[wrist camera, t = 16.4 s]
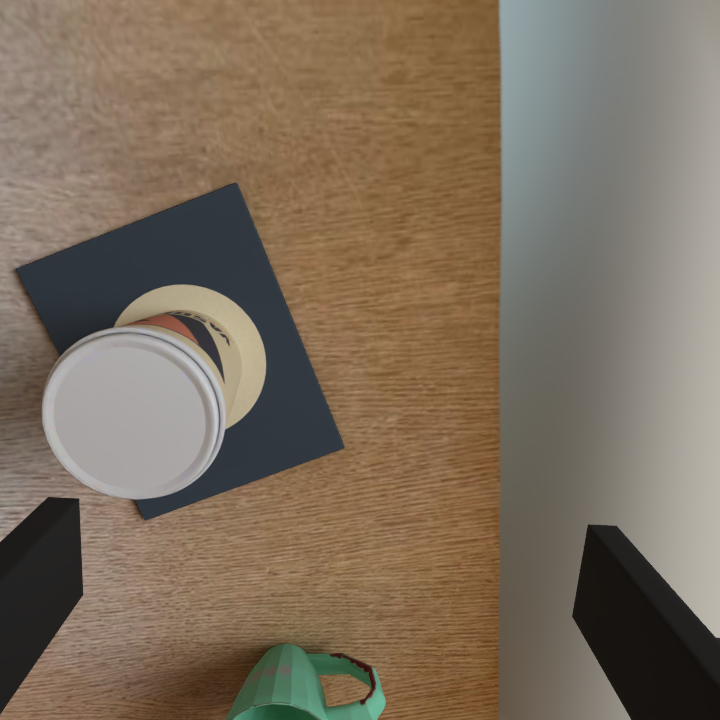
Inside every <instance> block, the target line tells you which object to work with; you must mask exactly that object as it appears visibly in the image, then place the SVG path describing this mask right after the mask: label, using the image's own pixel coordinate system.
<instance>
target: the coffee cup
mask: <svg viewBox="0 0 720 720" xmlns="http://www.w3.org/2000/svg"><path fill="white" fill-rule="evenodd" d="M241 373H242V358H241V353H240V350H239V347H238V345H237V342H236V341H235V339H234V337H233V336H232V334H231V333H230V332H229V330H228V329H227V328H226V327H225V326H224V325H222V324H221V323H220V322H219V321H217V320H216V319H214V318H212V317H211V316H208V315H206V314H203V313H200V312H197V311H192V310H175V311H169V312H165V313H161V314H157V315H154V316H151V317H148V318H144V319H141V320H138V321H135V322H132V323H129V324H126V325H123V326H119V327H115V328H109V329H105V330H101V331H98V332H95V333H93V334H90V335H88V336H86V337H84V338H82V339H81V340H79V341H78V342H76V343H75V344H73V345H72V346H71V347H70V348H69V349H67V350H66V351H65V352H64V353H63V354H62V355H61V357H60V358H59V359H58V360H57V362H56V363H55V364H54V366H53V368H52V369H51V371H50V373H49V375H48V378H47V380H46V383H45V387H44V391H43V397H42V425H43V429H44V433H45V436H46V439H47V442H48V444H49V446H50V448H51V450H52V452H53V453H54V455H55V457H56V458H57V460H58V461H59V462H60V464H61V465H62V466H63V467H64V468H65V469H66V470H67V471H68V472H69V473H70V474H71V475H72V476H73V477H74V478H76V479H77V480H78V481H80V482H81V483H83V484H84V485H86V486H88V487H89V488H91V489H93V490H95V491H98V492H100V493H103V494H106V495H109V496H113V497H116V498H123V499H135V500H137V499H149V498H156V497H161V496H165V495H169V494H172V493H174V492H177V491H179V490H181V489H183V488H185V487H186V486H188V485H190V484H191V483H193V482H194V481H195V480H196V479H198V478H199V477H200V476H201V475H202V474H203V473H204V472H205V471H206V470H207V469H208V467H209V466H210V465H211V464H212V462H213V460H214V459H215V457H216V456H217V453H218V451H219V449H220V447H221V444H222V441H223V437H224V432H225V427H226V423H227V420H228V417H229V414H230V412H231V409H232V405H233V402H234V399H235V396H236V393H237V390H238V387H239V383H240V379H241Z"/></svg>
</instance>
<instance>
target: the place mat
mask: <svg viewBox="0 0 720 720" xmlns="http://www.w3.org/2000/svg"><path fill="white" fill-rule="evenodd" d="M16 271H17V273H18V275H19V277H20V279H21V281H22V283H23V285H24V287H25V288H26V290H27V292H28V294H29V296H30V298H31V300H32V302H33V304H34V306H35V308H36V310H37V312H38V314H39V316H40V318H41V320H42V322H43V323H44V325H45V327H46V329H47V331H48V333H49V335H50V337H51V339H52V341H53V343H54V345H55V347H56V349H57V351H58V353H59V355H60V356H61V355H62V354H63V353H64V352H65V351H66V350H67V349H69V348H70V347H71V346H72V345H73V344H75V343H76V342H78V341H79V340H81V339H82V338H84V337H86V336H88V335H90V334H93V333H95V332H98V331H101V330H105V329H109V328H115V327H119V326H123V325H126V324H129V323H132V322H135V321H138V320H141V319H144V318H148V317H151V316H154V315H157V314H161V313H165V312H169V311H175V310H192V311H197V312H200V313H203V314H206V315H208V316H211V317H212V318H214V319H216V320H217V321H219V322H220V323H221V324H222V325H224V326H225V327H226V328H227V329H228V330H229V332H230V333H231V334H232V336H233V337H234V339H235V341H236V342H237V345H238V347H239V350H240V353H241V358H242V373H241V379H240V383H239V387H238V390H237V393H236V396H235V399H234V402H233V405H232V409H231V412H230V414H229V417H228V420H227V423H226V427H225V432H224V437H223V441H222V444H221V447H220V449H219V451H218V453H217V456H216V457H215V459H214V460H213V462H212V464H211V465H210V466H209V467H208V469H207V470H206V471H205V472H204V473H203V474H202V475H201V476H200V477H199V478H198V479H196V480H195V481H194V482H193V483H191V484H190V485H188V486H186V487H185V488H183V489H181V490H179V491H177V492H174V493H172V494H169V495H165V496H161V497H156V498H149V499H137V500H135V499H134V500H135V502H136V504H137V506H138V508H139V510H140V512H141V514H142V516H143V518H144V520H148V519H151V518H154V517H157V516H159V515H162V514H165V513H167V512H170V511H173V510H176V509H178V508H181V507H184V506H187V505H189V504H192V503H195V502H198V501H200V500H203V499H206V498H209V497H211V496H214V495H217V494H220V493H222V492H225V491H228V490H231V489H233V488H236V487H239V486H242V485H244V484H247V483H250V482H253V481H255V480H258V479H261V478H264V477H266V476H269V475H272V474H275V473H277V472H280V471H283V470H286V469H288V468H291V467H294V466H297V465H299V464H302V463H305V462H308V461H310V460H313V459H316V458H319V457H321V456H324V455H327V454H330V453H332V452H335V451H338V450H341V449H343V448H344V444H343V441H342V439H341V437H340V434H339V432H338V429H337V427H336V424H335V422H334V419H333V417H332V414H331V412H330V410H329V407H328V405H327V402H326V400H325V397H324V395H323V392H322V390H321V387H320V385H319V383H318V380H317V378H316V375H315V373H314V370H313V368H312V365H311V363H310V360H309V358H308V356H307V353H306V351H305V348H304V346H303V343H302V341H301V338H300V336H299V334H298V331H297V329H296V326H295V324H294V321H293V319H292V316H291V314H290V311H289V309H288V307H287V304H286V302H285V299H284V297H283V294H282V292H281V289H280V287H279V284H278V282H277V280H276V277H275V275H274V272H273V270H272V267H271V265H270V262H269V260H268V257H267V255H266V253H265V250H264V248H263V245H262V243H261V240H260V238H259V235H258V233H257V230H256V228H255V226H254V223H253V221H252V218H251V216H250V213H249V211H248V208H247V206H246V203H245V201H244V199H243V196H242V194H241V191H240V189H239V186H238V184H237V183H234V184H231V185H229V186H226V187H223V188H221V189H218V190H216V191H213V192H211V193H208V194H206V195H203V196H201V197H198V198H195V199H193V200H190V201H188V202H185V203H183V204H180V205H178V206H175V207H172V208H170V209H167V210H165V211H162V212H160V213H157V214H155V215H152V216H150V217H147V218H144V219H142V220H139V221H137V222H134V223H132V224H129V225H127V226H124V227H122V228H119V229H116V230H114V231H111V232H109V233H106V234H104V235H101V236H99V237H96V238H93V239H91V240H88V241H86V242H83V243H81V244H78V245H76V246H73V247H71V248H68V249H65V250H63V251H60V252H58V253H55V254H53V255H50V256H48V257H45V258H43V259H40V260H37V261H35V262H32V263H30V264H27V265H25V266H22V267H20V268H17V269H16Z"/></svg>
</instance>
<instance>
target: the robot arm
mask: <svg viewBox="0 0 720 720" xmlns="http://www.w3.org/2000/svg"><path fill="white" fill-rule="evenodd" d="M82 596H83V581H82V557H81V534H80V510H79V499H75V498H55V497H48V498H47V499H46V500H45V501H44V502H43V503H41V504H40V505H39V506H38V507H37V508H36V509H35V510H34V511H33V512H32V513H31V514H30V515H29V516H28V517H27V518H26V519H24V520H23V521H22V522H21V523H20V524H19V525H18V526H17V527H16V528H15V529H14V530H13V531H12V532H11V533H10V534H9V535H7V536H6V537H5V538H4V539H3V540H2V541H1V542H0V714H1V712H2V711H3V709H4V708H5V707H6V705H7V704H8V702H9V701H10V699H11V698H12V696H13V695H14V694H15V692H16V691H17V689H18V688H19V686H20V685H21V683H22V682H23V681H24V679H25V678H26V676H27V675H28V673H29V672H30V670H31V669H32V668H33V666H34V665H35V663H36V662H37V660H38V659H39V658H40V656H41V655H42V653H43V652H44V650H45V649H46V647H47V646H48V645H49V643H50V642H51V640H52V639H53V637H54V636H55V634H56V633H57V632H58V630H59V629H60V627H61V626H62V624H63V623H64V621H65V620H66V619H67V617H68V616H69V614H70V613H71V611H72V610H73V608H74V607H75V606H76V604H77V603H78V601H79V600H80V598H81V597H82ZM572 617H573V619H574V620H575V622H576V624H577V626H578V627H579V629H580V630H581V632H582V634H583V636H584V638H585V639H586V641H587V643H588V645H589V646H590V648H591V650H592V652H593V653H594V655H595V657H596V659H597V660H598V662H599V664H600V666H601V667H602V669H603V671H604V672H605V674H606V676H607V678H608V680H609V681H610V683H611V685H612V687H613V688H614V690H615V692H616V694H617V695H618V697H619V699H620V701H621V702H622V704H623V706H624V707H625V709H626V711H627V713H628V714H629V716H630V718H631V720H720V638H715V636H714V635H713V634H712V633H711V632H710V631H709V630H708V629H707V627H706V626H705V625H704V624H703V623H702V622H701V621H700V620H699V618H698V617H697V616H696V615H695V614H694V613H693V612H692V610H691V609H690V608H689V607H688V606H687V605H686V604H685V603H684V601H683V600H682V599H681V598H680V597H679V596H678V595H677V594H676V592H675V591H674V590H673V589H672V588H671V587H670V586H669V584H668V583H667V582H666V581H665V580H664V579H663V578H662V577H661V575H660V574H659V573H658V572H657V571H656V570H655V569H654V568H653V567H652V565H651V564H650V563H649V562H648V561H647V560H646V559H645V558H644V556H643V555H642V554H641V553H640V552H639V551H638V550H637V548H636V547H635V546H634V545H633V544H632V543H631V542H630V541H629V539H628V538H627V537H626V536H625V535H624V534H623V533H622V531H621V530H620V529H619V528H618V527H617V526H608V525H588V528H587V534H586V539H585V545H584V551H583V557H582V562H581V569H580V574H579V580H578V586H577V592H576V597H575V603H574V609H573V615H572Z"/></svg>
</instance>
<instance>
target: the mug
mask: <svg viewBox="0 0 720 720" xmlns="http://www.w3.org/2000/svg"><path fill="white" fill-rule="evenodd" d="M331 674H350V675H351V676H353V677H355V678H357V679H358V680H360V681H362V682H363V683H365V684H367V685H368V686H370V688H371V691H370V692H369V694H368V695H367V697H366V698H364V699H362V700H359V701H356V702H354V703H351V704H347V705H340V706H332V707H327V705H326V700H325V696H324V692H323V688H322V685H321V683H320V680H319V677H318V675H331ZM385 704H386V701H385V697H384V694H383V691H382V687H381V684H380V681H379V677H378V674H377V672H376V670H375V669H374V668H373V667H372V666H370V665H367V664H365V663H363V662H361V661H359V660H357V659H354V658H352V657H350V656H348V655H346V654H344V653H323V654H306V652H305V651H304V650H303V649H301V648H300V647H298V646H296V645H293V644H280V645H276V646H274V647H272V648H270V649H269V650H268V651H267V652H266V653H265V654H264V655H263V657H262V658H261V659H260V660H259V662H258V663H257V664H256V665H255V666H254V668H253V669H252V671H251V672H250V674H249V675H248V677H247V679H246V680H245V682H244V683H243V685H242V687H241V689H240V691H239V693H238V695H237V697H236V700H235V702H234V704H233V706H232V708H231V710H230V712H229V714H228V716H227V718H226V720H377V719H378V718H379V716H380V714H381V713H382V711H383V710H384V708H385Z"/></svg>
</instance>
